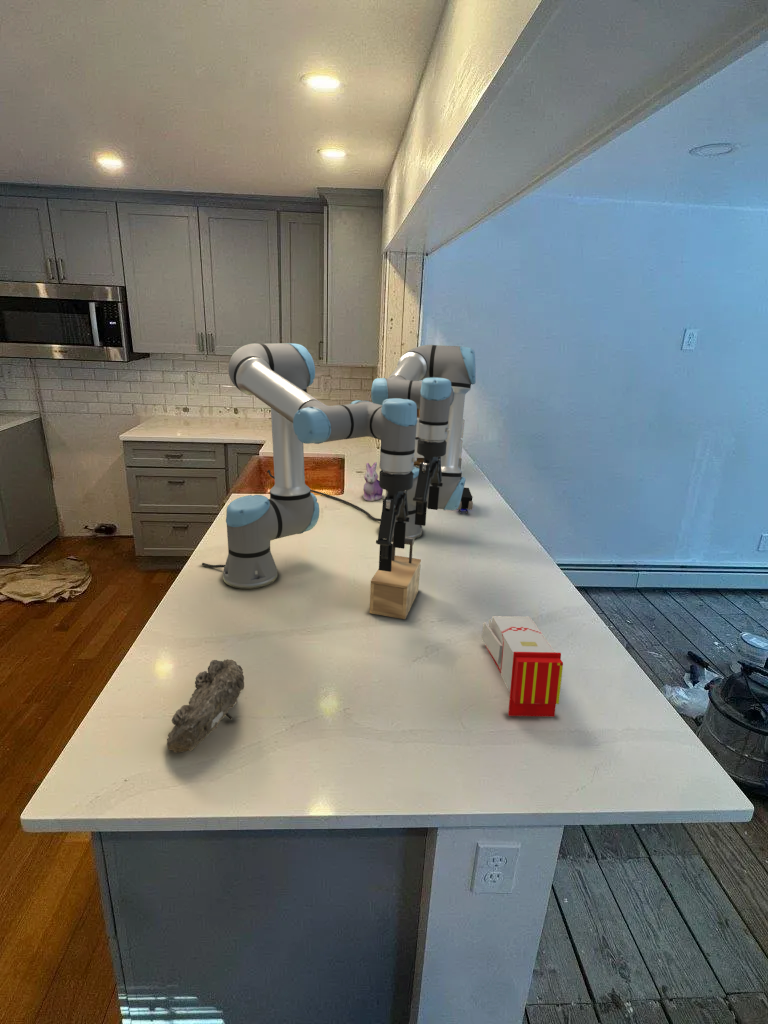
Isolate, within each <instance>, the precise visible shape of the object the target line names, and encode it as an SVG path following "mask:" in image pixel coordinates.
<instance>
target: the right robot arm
mask: <svg viewBox="0 0 768 1024" xmlns="http://www.w3.org/2000/svg"><path fill="white" fill-rule="evenodd" d="M476 369H477V368H476V353H475V350H474V349H473V348H472V347H470V346H462V345H441V344H440V345H438V344H424V345H420V346H416V347H413V348H411V349H409V350H407V351H406V352H405V353H403V354H402V355H401V356H400V357H399V359H398V361H397V365H396V367H395V369H394V370H393V371H392V372H391V374H390V375H389V376H388V377H387V378H385V377H377V378H374V379H373V381H372V385H371V389H370V390H371V391H370V393H371V395H370V396H371V398H370V399H371V402H372V403H375V404H379V405H382V403H383V401H384V400H386V399H391V398H400V399H408V400H412V401H414V402H415V403H416V405H417V409H420V418H419V427H418V437H419V438H420V439H419V440H418V444H417V453H418V454H419V455H422V456H424V461H423V462H422V463H421V462H420V465H419V466H418V467H417V466H414V468H413V470H412V472H413V487H412V488H411V489H410V490H408V491H407V502H408V517H409V518H410V519H409V522H404V523H406V531H405V536H409V537H414V540H415V539H418V538H420V537H421V536H422V535H423V527H425V526H426V524H427V511H428V510H434V511H438V510H443V511H456V510H457V509H458V507H459V505H460V501H461V497H462V493H463V489H464V488H465V484H466V477H465V476H462V475H463V471H462V469H461V470H460V469H459V467H458V462H459V452H460V442H461V440H462V438H461V432H462V422H463V419H464V412H465V411H464V410H465V401H466V395H467V393H469V392H470V391H471V387H472V385H476V380H477V378H476V377H477V374H476V372H477V371H476ZM266 473H267V474H268V476H269V477H271V478H272V479H274V480H275V478H274V475H273V474H272V473H271V470H270V469H267V471H266ZM310 492H311V493H313V494H318V495H321V496H323V497H327V498H330V499H333V500H335V501H338V502H342V503H344V504H346V505H349V506H351V507H352V508H355V509H357V510H359V511H361V512H362V513H364V514H365V515H367V516H368V518H369V519H371V520H373V521H375V522H380V521H381V518H376V517H374V516H373V515H372V514H370V513H369V512H368V511H367V510H366V509H363V508H362V507H359V506H358V505H356V504H354V503H351V502H349V501H347V500H345V499H343V498H339V497H337V496H334V495H331V494H327V493H324V492H322V491H321V492H320V491H318V490H314V489H311V488H310ZM387 494H388V492H387V491H386V490H385V496H387ZM396 522H398V521H396ZM379 528H380V525H379V527H378V529H379ZM393 534H394V532H393Z"/></svg>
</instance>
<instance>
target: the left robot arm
mask: <svg viewBox="0 0 768 1024" xmlns="http://www.w3.org/2000/svg"><path fill="white" fill-rule="evenodd" d="M227 367H228V369H227V371H228V375H229V379H230V381H231V383H232V384H233V386H235V388H236V389H238V390H239V391H240V392H241V393H243V394H245V395H247V396H254V397H255V398H257V399H259V400H260V401H261V402H262V403H264V404H265V405H267V407H269V408H270V421H271V436H272V437H271V439H272V455H273V456H272V457H273V458H272V459H273V474H274V475H273V476H274V478H275V479H274V478H273V479H274V485H273V486H272V487H271V488H270V489H269V498H268V497H267V496H265V495H261V494H254V495H252V494H249V495H243V496H240V497H237V498H235V499H234V500H232V501H231V502H229V504H228V505H227V506H226V515H225V516H226V517H225V523H226V534H227V535H226V536H227V552H228V554H227V557H226V560H225V564H209V563H207V562H206V563H205V562H202V563H201V566H203V567H207V568H212V569H213V568H214V569H219V568H223V570H222V571H223V572H222V580H223V581H224V583H225V584H226V585H228V586H230V587H232V588H235V589H241V590H242V589H243V590H251V589H252V590H253V589H258V588H263V587H266V586H269V585H272V584H273V583H274V582H275V581H276V580H277V579H278V568H277V565H276V562H275V559H274V557H273V554H272V551H271V541H273V540H274V541H275V540H277V539H282V538H286V537H290V536H295V535H300V534H303V533H305V532H309V531H311V530H312V529H314V528H315V527H316V525H317V524H318V521H319V518H320V503H319V502H318V498H317V497H316V495H315V493H314V492H310V489H311V488H310V487H309V485H307V484H306V479H305V478H306V477H305V476H306V475H305V453H304V452H305V450H304V448H305V447H304V445H308V444H310V445H311V444H314V445H315V444H316V445H319V444H323V443H328V442H336V441H343V440H350V439H351V440H352V439H359V438H365V437H368V438H373V439H376V440H379V441H380V449H379V469H380V470H379V475H378V480H379V486H380V487H381V488H382V489H383V490H384V491H385V492H386V491H387V492H388V494H387V496H386V495H385V496H384V498H383V499H382V507H381V517H380V519H381V521H379V526H380V528H379V527H378V534H377V539H376V541H375V544H377V545H379V552H378V554H379V558H378V569H379V570H382V571H388V572H391V568H392V548H393V547H395V549H403V550H404V549H406V547H405V546H406V544H405V531H406V523H404V522H409V519H410V518H409V517H408V502H407V491H408V490H410V489H411V488H412V487H413V472H412V470H413V468H414V467H415V466H414V462H416V461H417V458H416V457H414V452H415V438H416V425H417V405H416V403H415V402H414V401H412V400H408V399H400V398H391V399H386V400H384V401H383V403H382V405H379V404H375V403H373V402H372V401H369V400H359V399H355V400H353V401H352V402H350V403H349V404H338V405H337V404H335V405H327V404H325V403H323V402H322V401H320V400H318V399H317V398H315V397H313V396H312V395H311V394H310V393H308V388H309V387H310V386H311V385H312V384H313V383H314V380H315V378H316V367H315V361H314V359H313V357H312V355H311V353H310V352H309V350H308V349H307V348H306V347H305V346H304V345H302V344H300V343H291V342H280V343H278V342H277V343H257V342H256V343H248V344H245V345H243V346H241V347H239V348H238V349H236V351H235V352H233V354H232V355H231V357H230V359H229V362H228V366H227ZM396 521H398V522H396ZM393 532H394V540H393V542H392V537H393Z"/></svg>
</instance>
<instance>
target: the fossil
mask: <svg viewBox="0 0 768 1024" xmlns="http://www.w3.org/2000/svg"><path fill="white" fill-rule="evenodd" d="M243 670H244V669H243V667H242V665H240V664H237V662H236V661H235V660H234V659H232V658H231V659H227V658H226V659H224V660H223V661H222V660H217V659H212V660H211V661H210V663H209V665H208V666H207V671H201V672H199V673H198V674H197V675H196V676H195V680H194V684H195V685H194V687H195V689H194V690H193V693H192V694H191V697H190V698H189V700H188V704H184V705H182V706H181V707H180V709H177V710H176V711H175V713H174V715H173V716H172V718H171V723H172V724H173V727H172V730H171V731H170V732H168V734H167V738H166V741H167V742H166V745H167V749H168V750H169V751H173V752H174V753H176V754H178V753H182V752H188V751H189V752H192V751H193V750H195V748H196V747H197V746H199V744H200V743H201V742H203V741H204V740H205V739H206V738H207V737H208V736H209V735H210V734H211V733H212V732H214V730H215V729H217V727H218V726H219V724H220V722H221V721H222V720H223V719H224V718H225V716H226V717H227V719H229V720H233V717H232V715H230V714H229V710H230V709H231V708H234V706H235V704H236V703H237V702H238V699H239V697H240V695H241V693H242V691H243V690H245V689H244V688H245V675H244V671H243Z"/></svg>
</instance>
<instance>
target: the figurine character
mask: <svg viewBox="0 0 768 1024" xmlns="http://www.w3.org/2000/svg"><path fill="white" fill-rule="evenodd" d="M473 507H474V501H473V495H472V493H471V489H470V488H469V487H464V489H463V493H462V497H461V501H460V505H459V507H458V509H456V510H458V513H459V514H462V512H464V511H465V514H469V511H473Z"/></svg>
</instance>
